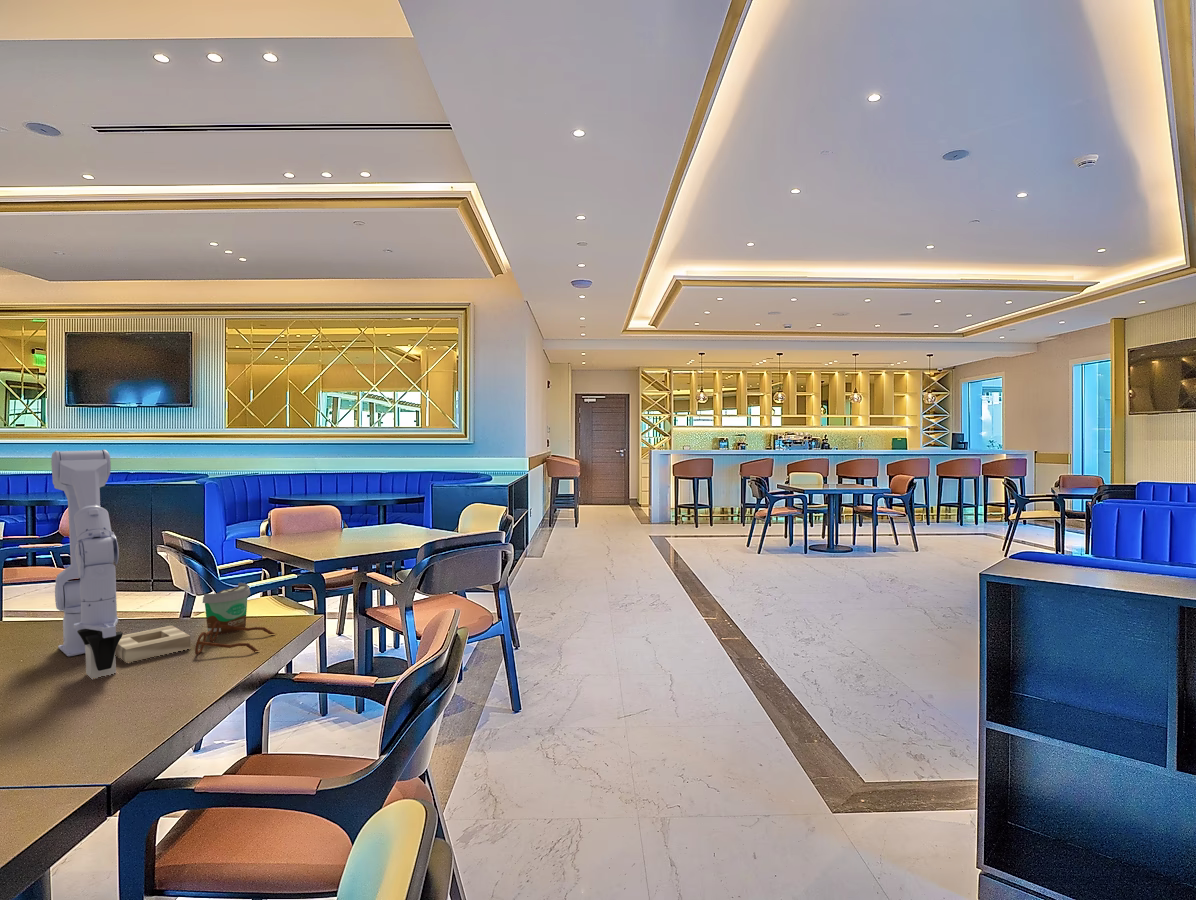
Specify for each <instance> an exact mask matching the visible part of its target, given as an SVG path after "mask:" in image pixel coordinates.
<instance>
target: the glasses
mask: <svg viewBox="0 0 1196 900" xmlns="http://www.w3.org/2000/svg"><path fill="white" fill-rule="evenodd" d="M216 625H217V631H216V634H215V635H213V631H214V628H215V626H216ZM219 628H227V629H236V630H240V631H246V632H249V631H264V632H265V633H267V634H268V635H270V634H276V633H275V632H273V631H271V630H270V629H268V628H266V627H262V626H261V627H260V626H255V627H245V628H244V627H236V626H228V625H220V622H219V621H216V622H215V623H214V625H213V627H212V629H211V630H210V631H208V630H207V632H205V631H202V632H201V633H200V634H199V635H198V638H197V641H196V644H195V650H194V651H195V652H194V653H195V655H196V656H199V655H200V654H201V653H202V652H203V650H204V648H205V646H209V647H217V648H218V647H219V648H225V649H231V648H236V647H247V648H248V649H250V650H251V651H252V652H254V653H255V651H259V650H258V649H257V648H255V646H253V645H251V644H250V643H246V642H238V643H233V644H226V643H218V642H215V641H216V639H217V638H218V636H219V635H218V632H219ZM209 634H210V635H209ZM208 636H209V641H207V637H208ZM213 636H214V637H213ZM202 638H203V640H202V641H201V639H202ZM213 641H214V642H213ZM212 642H213V643H212ZM200 645H201V646H200ZM199 646H200V649H199ZM200 652H201V653H200ZM199 653H200V654H199ZM198 654H199V655H198Z"/></svg>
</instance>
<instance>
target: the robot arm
mask: <svg viewBox="0 0 1196 900" xmlns="http://www.w3.org/2000/svg"><path fill="white" fill-rule="evenodd" d="M50 462H51V474H52V476H51V477H52V484H53V487H54V489H56V490H60V491H63V493H64V494H65V496H66V500H67V508H68V509H67V511H68V532H69V535H68V536H69V552H70V565H69V566H67V567H66V568H65V569H63V570H62V571H61V572H59V573H58V574H57V575H56V578H55V584H54V585H55V586H54V598H55V599H54V600H55V608H56V610H58V611H59V612H63V618H62V629H63V630H62V633H63V635H62V636H63V644H59V645H57V646H58V649H59V650H60V651H61V652H63V654H65V656H67V657H74V656H78V655H79V656H80V655H82V654H85V645H87V644H90V646H91V648H92V650H93V654H94V658H95V663H96V667H97V669H98V671H101V670H105V669H110V668H111V667H112V663H113V659H114V654H115V650H116V647H117V645H118V642H119V641H120V639H121V637H122V635H124V634H123V632H122V631H117V624H118V622H119V617H118V612H117V611H118V609H117V606H118V605H117V602H118V601H117V579H116V578H117V577H116V575H117V574H116V565H118V563H119V559H120V558H119V557H120V551H119V549H120V548H119V543H118V539H117V536H116V535H115V532H114V531H112V526H111V521H110V515H109V511H108V510H107V509H106V508H104V507H102V506H101V492H100V491H101V490H100V489H101V488H103V487H105V486H106V484H107V482H108V479H109V477H110V475H111V472H112V471H111V469H112V467H111V465H112V463H111V462H112V461H111V455H110V452H108V450H106V449H102V450H97V449H96V450H66V451H65V450H61V451H60V450H55V451H54V452H52V454H51V461H50ZM74 579H77V580H74Z"/></svg>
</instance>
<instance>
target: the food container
mask: <svg viewBox="0 0 1196 900" xmlns="http://www.w3.org/2000/svg"><path fill="white" fill-rule="evenodd" d="M237 585H238V586H236V587H234V588H229V589H228V588H227V589H222V590H220V591H218V592H217V593H203V597H202V604H204V607H205V608H204V610H205V617H206V626H207V627H206V628H207V632H208V631H210V630H211V629H212V627H213V625H214V623H215V622H216V621H219V622H220V625H228V626H236V627H244V628H246V627H245V626H246V624H247V612H248V611H247V609H248V597H249V596H251V593H252V592H251V590H250V587H249V585H248V584H247V583H244V582H238V584H237ZM216 631H217V625H216V626H215V628H214V631H213V636H215V634H216ZM239 631H241V630H236V629H227V628H219V632H218V636H221V635H228V634H232V633H236V632H239ZM227 633H228V634H227ZM208 636H210V634H209V635H208Z"/></svg>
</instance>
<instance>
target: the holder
mask: <svg viewBox="0 0 1196 900" xmlns="http://www.w3.org/2000/svg"><path fill="white" fill-rule="evenodd" d="M191 642H192V641H191V635H190V634H188V633H187V632H184V631H183V630H181V629H179V628H178V627H175V626H174V625H167V626H163V627H157V628H151V629H147V630H143V631H137V632H132V633H127V634H123V635H122V637H121V639H120V641H119V642H118V645H117V647H116V650H115V655H117V656H118V657H119V658H121V659H122V660H123V661H124V663H125V662H126V663H128V662H132V663H134V662H133V661H136V660H141V659H145V658H150V657H154V656H159V657H161V656H160V655H163V656H165V655H164V654H167V655H170V654H169V653H172V654H174V653H173V652H176V653H179V652H178V651H181V652H184V651H183V650H185V651H188V650H187V649H189V650H191V649H192V647H191V646H192V643H191ZM117 656H116V657H117ZM118 657H117V658H118ZM119 658H118V659H119ZM154 658H155V657H154ZM121 659H120V660H121ZM150 659H151V658H150ZM122 660H121V661H122ZM123 661H122V662H123ZM141 661H142V660H141ZM126 663H125V664H126ZM128 664H129V663H128Z"/></svg>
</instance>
